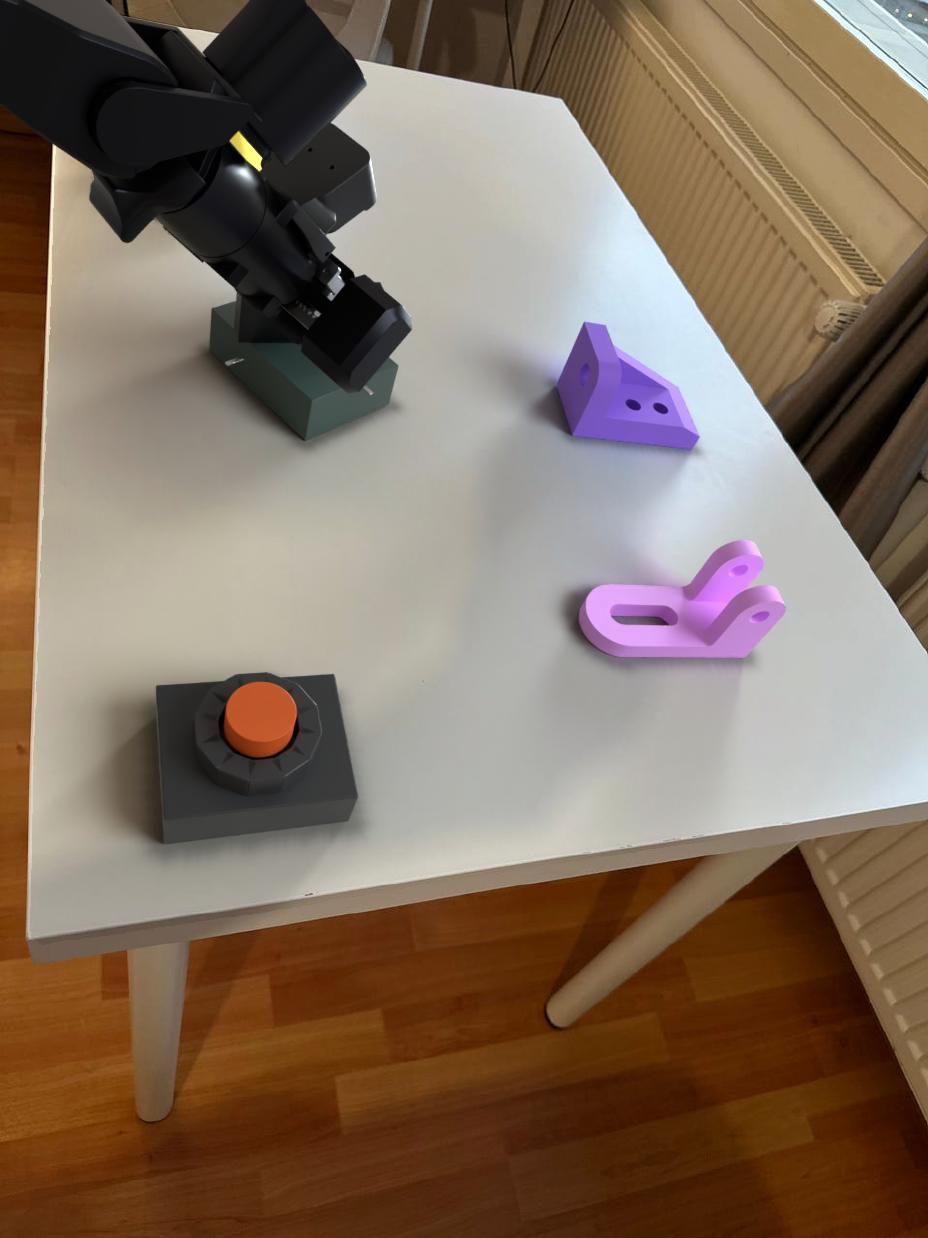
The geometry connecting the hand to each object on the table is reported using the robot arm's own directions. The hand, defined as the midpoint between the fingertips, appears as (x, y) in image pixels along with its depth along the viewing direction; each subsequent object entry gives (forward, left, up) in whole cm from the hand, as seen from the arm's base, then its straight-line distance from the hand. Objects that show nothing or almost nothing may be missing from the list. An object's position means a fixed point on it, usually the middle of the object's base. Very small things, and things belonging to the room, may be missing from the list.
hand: (336, 324), depth 64 cm
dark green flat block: (-3, +2, -8) cm, 8 cm away
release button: (+10, -31, -3) cm, 33 cm away
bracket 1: (+23, +16, -8) cm, 29 cm away
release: (+10, -31, -8) cm, 34 cm away
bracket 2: (+31, -7, -8) cm, 33 cm away
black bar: (-3, +2, -4) cm, 5 cm away
